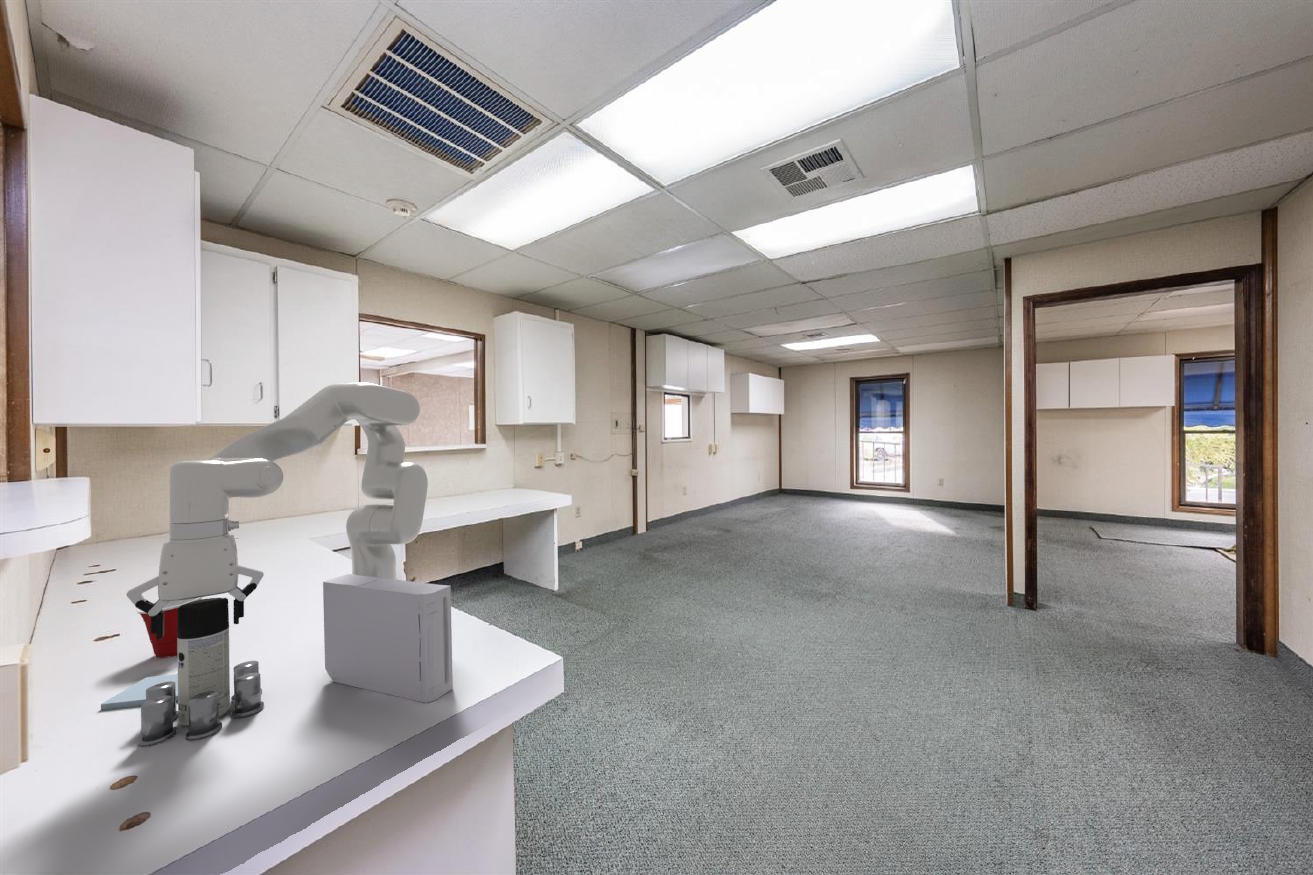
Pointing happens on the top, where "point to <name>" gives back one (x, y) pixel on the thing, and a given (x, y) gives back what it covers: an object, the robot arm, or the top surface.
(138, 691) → the pad
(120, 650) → the top surface
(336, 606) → the game console
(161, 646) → the plastic cup
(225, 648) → the spray can
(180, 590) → the robot arm
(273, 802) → the top surface
